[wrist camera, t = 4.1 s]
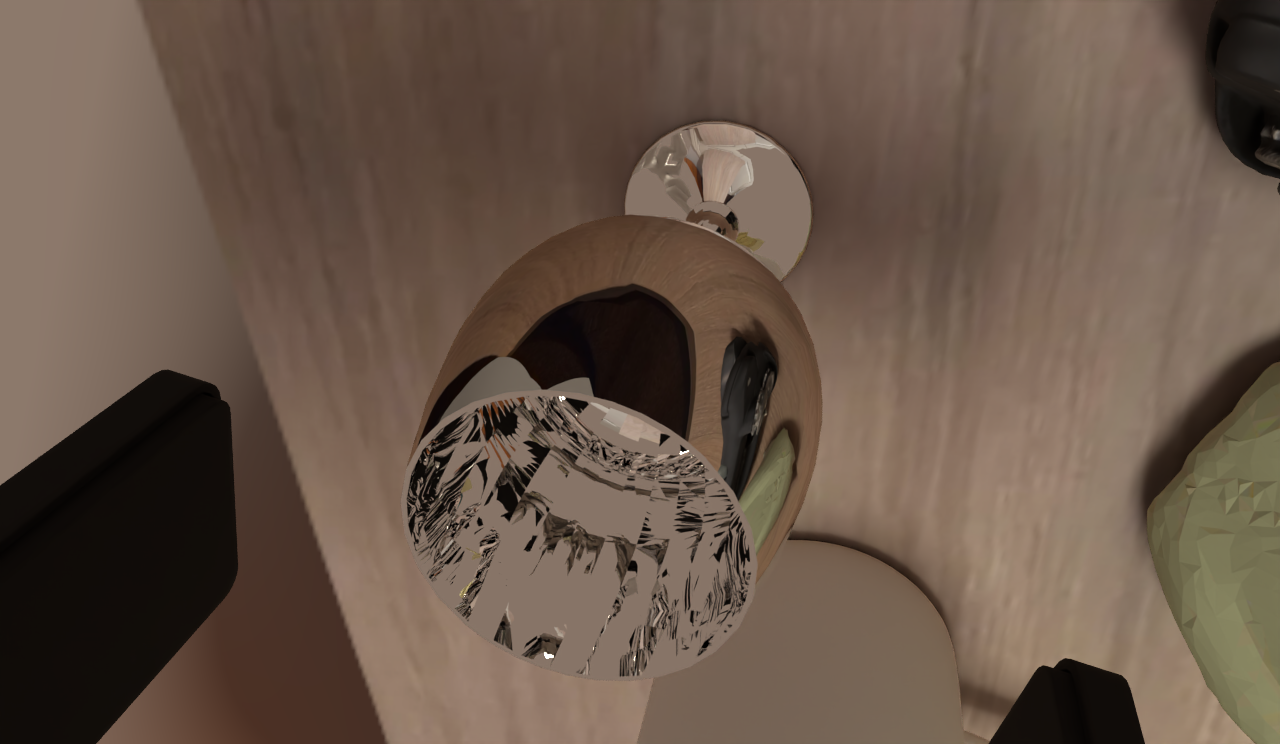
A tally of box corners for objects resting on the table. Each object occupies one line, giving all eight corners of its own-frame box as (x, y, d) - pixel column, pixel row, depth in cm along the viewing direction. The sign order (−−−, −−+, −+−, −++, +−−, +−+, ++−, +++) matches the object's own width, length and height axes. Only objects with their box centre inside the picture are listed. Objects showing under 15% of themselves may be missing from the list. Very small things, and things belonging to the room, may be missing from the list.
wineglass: (896, 226, 21) (908, 596, 11) (712, 366, 24) (587, 761, 14) (722, 32, 20) (554, 245, 10) (550, 203, 23) (280, 507, 12)
